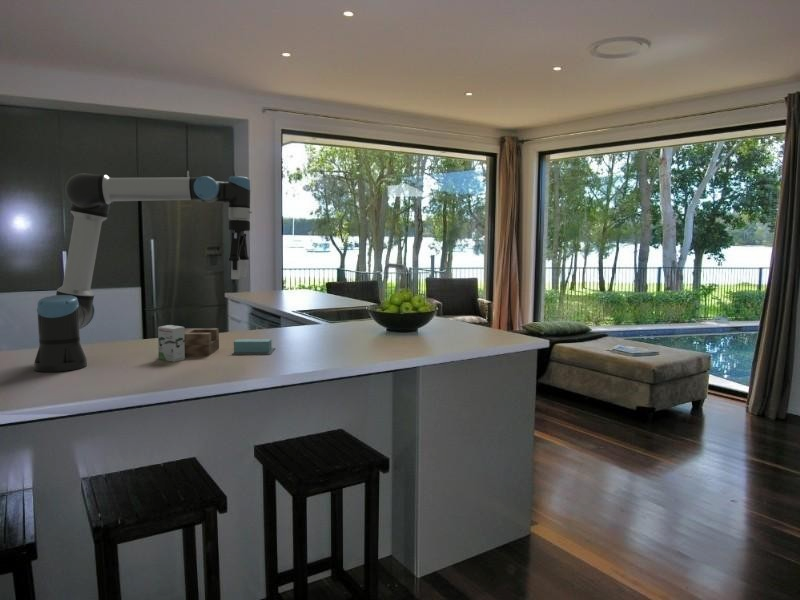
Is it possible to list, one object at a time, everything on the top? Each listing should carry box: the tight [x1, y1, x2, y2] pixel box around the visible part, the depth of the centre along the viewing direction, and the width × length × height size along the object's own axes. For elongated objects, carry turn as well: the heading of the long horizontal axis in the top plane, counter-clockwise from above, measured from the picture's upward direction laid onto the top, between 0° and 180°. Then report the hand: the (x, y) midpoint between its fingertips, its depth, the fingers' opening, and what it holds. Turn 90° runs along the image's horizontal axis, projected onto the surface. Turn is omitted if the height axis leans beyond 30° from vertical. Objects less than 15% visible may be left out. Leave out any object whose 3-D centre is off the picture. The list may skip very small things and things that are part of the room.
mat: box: [231, 347, 276, 356], centre depth 228 cm, size 14×12×1 cm
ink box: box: [157, 324, 186, 362], centre depth 212 cm, size 9×5×12 cm, turn 60°
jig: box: [184, 327, 220, 357], centre depth 226 cm, size 16×15×8 cm
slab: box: [233, 338, 273, 353], centre depth 228 cm, size 13×6×4 cm, turn 93°
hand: (239, 278), depth 220 cm, fingers open, 13 cm apart
